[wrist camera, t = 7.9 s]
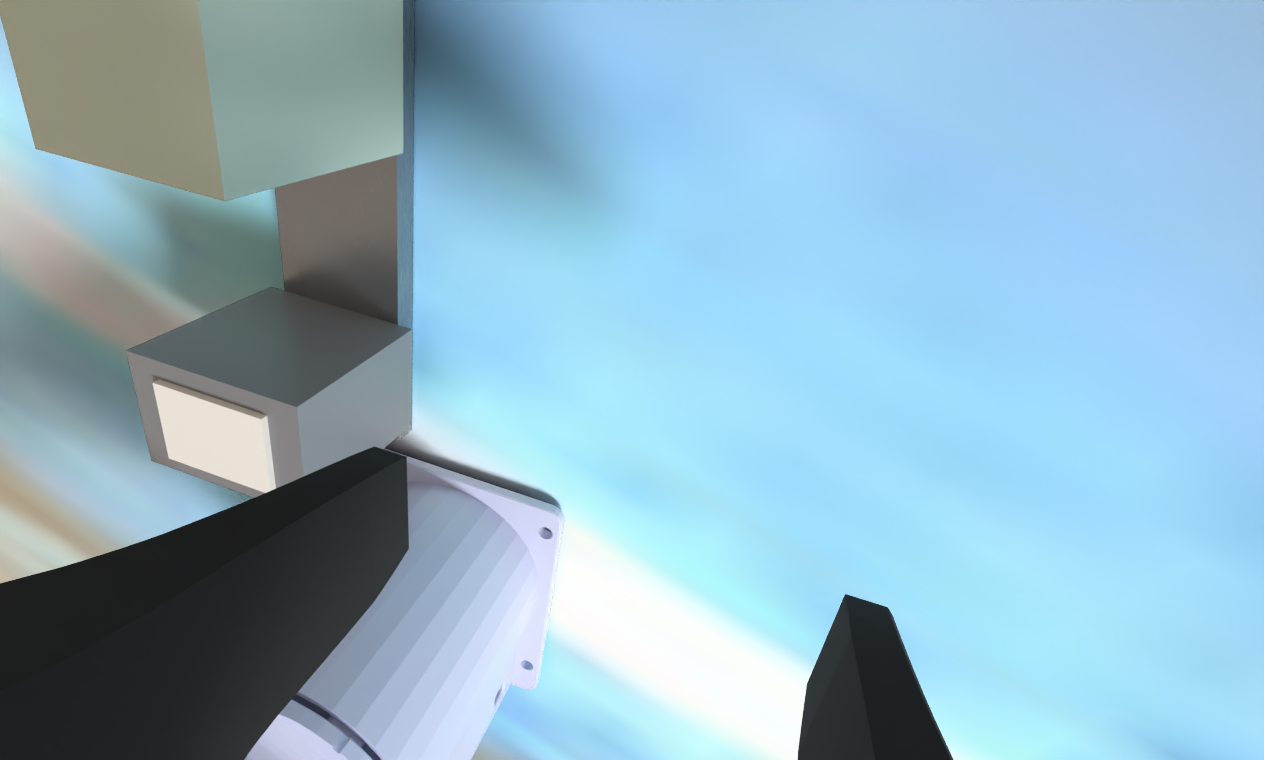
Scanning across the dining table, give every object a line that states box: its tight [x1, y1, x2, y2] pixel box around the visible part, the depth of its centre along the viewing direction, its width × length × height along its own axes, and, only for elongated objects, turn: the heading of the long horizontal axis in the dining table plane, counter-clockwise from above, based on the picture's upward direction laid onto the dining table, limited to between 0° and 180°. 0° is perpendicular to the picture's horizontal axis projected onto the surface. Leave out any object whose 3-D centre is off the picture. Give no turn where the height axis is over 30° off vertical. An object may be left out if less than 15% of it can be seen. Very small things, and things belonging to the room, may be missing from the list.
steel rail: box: [275, 0, 415, 441], centre depth 17 cm, size 24×4×1 cm, turn 170°
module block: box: [0, 0, 403, 201], centre depth 15 cm, size 5×5×6 cm
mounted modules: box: [126, 287, 412, 498], centre depth 15 cm, size 22×5×5 cm, turn 170°
